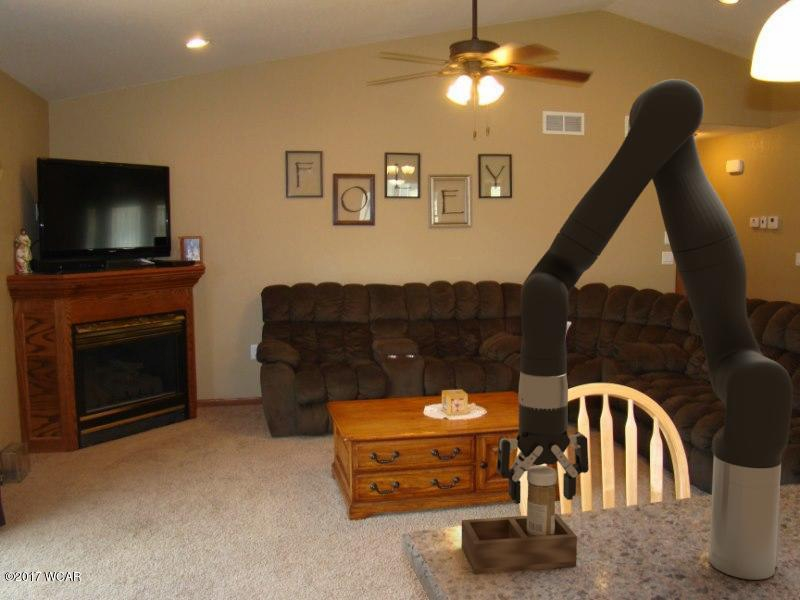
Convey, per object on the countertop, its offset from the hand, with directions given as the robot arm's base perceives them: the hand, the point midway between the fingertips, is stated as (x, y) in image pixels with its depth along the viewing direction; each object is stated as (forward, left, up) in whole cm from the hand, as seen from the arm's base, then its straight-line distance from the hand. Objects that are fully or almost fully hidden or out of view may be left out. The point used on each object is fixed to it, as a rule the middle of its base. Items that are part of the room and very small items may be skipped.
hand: (542, 499), depth 112 cm
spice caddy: (+4, -1, -9) cm, 10 cm away
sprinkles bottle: (0, 0, -9) cm, 9 cm away
